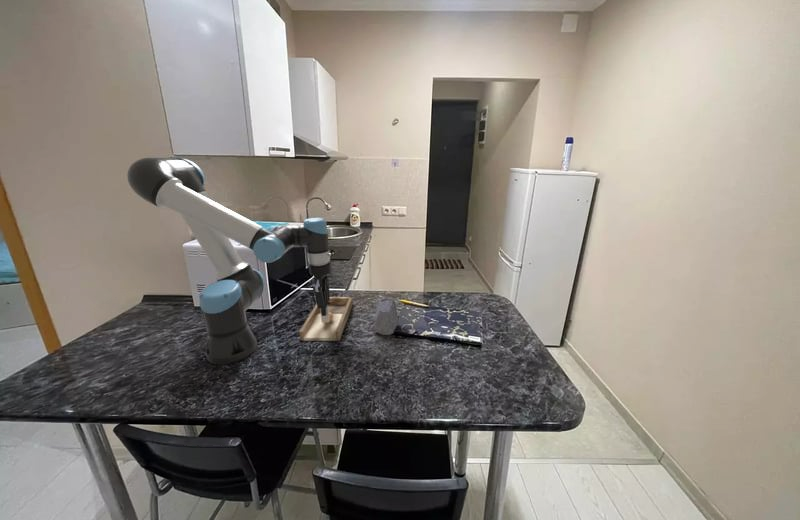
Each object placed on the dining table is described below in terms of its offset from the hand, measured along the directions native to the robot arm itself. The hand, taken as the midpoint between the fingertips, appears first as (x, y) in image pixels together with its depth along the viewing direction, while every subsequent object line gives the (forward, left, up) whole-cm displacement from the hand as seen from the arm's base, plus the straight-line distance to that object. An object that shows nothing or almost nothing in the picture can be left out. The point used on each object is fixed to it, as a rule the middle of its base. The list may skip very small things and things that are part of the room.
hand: (325, 321), depth 115 cm
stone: (+22, -1, -3) cm, 23 cm away
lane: (0, +6, -3) cm, 7 cm away
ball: (0, +3, 0) cm, 3 cm away
